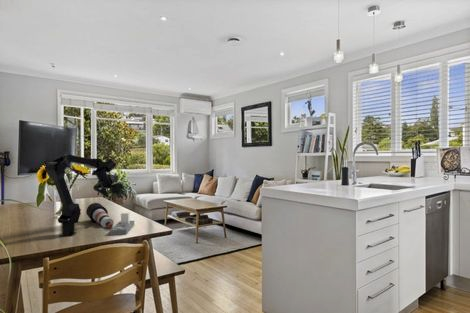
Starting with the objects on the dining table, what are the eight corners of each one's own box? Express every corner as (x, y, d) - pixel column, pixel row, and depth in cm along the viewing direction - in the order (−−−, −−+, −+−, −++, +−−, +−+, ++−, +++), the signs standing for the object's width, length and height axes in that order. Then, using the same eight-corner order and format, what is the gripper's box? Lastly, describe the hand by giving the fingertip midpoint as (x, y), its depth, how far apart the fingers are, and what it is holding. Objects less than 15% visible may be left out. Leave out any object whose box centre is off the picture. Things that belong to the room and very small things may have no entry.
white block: (128, 227, 167) (128, 213, 167) (121, 228, 167) (120, 213, 167) (130, 226, 171) (129, 212, 171) (122, 226, 171) (122, 212, 171)
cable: (106, 239, 165) (97, 224, 161) (91, 221, 191) (83, 208, 188) (123, 228, 170) (115, 213, 166) (106, 212, 196) (98, 199, 193)
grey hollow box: (126, 236, 154) (126, 228, 154) (110, 237, 153) (110, 229, 153) (134, 226, 174) (134, 219, 173) (120, 227, 173) (119, 220, 172)
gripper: (123, 169, 181) (133, 190, 189) (100, 169, 188) (111, 188, 196) (111, 180, 172) (122, 202, 180) (87, 179, 180) (99, 199, 188)
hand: (113, 197), depth 186 cm, fingers open, 9 cm apart
